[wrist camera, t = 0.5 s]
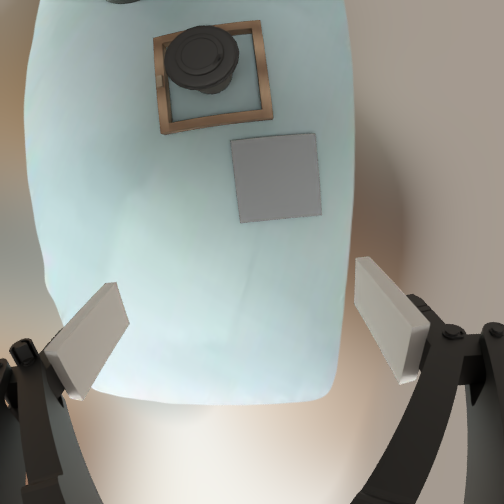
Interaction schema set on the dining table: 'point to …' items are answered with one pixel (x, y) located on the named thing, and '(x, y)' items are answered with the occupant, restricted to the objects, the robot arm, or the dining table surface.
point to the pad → (276, 177)
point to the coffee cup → (202, 59)
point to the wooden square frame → (221, 119)
